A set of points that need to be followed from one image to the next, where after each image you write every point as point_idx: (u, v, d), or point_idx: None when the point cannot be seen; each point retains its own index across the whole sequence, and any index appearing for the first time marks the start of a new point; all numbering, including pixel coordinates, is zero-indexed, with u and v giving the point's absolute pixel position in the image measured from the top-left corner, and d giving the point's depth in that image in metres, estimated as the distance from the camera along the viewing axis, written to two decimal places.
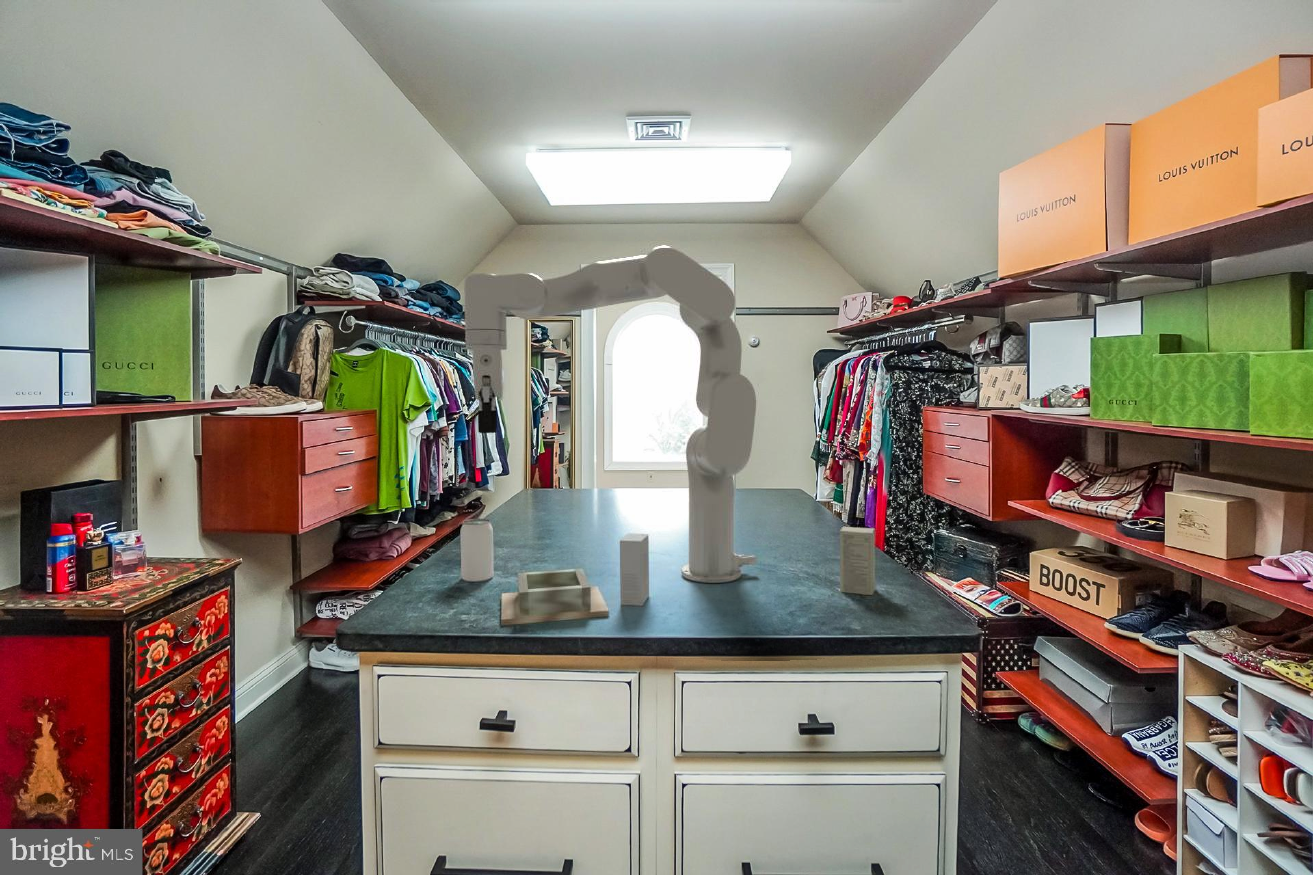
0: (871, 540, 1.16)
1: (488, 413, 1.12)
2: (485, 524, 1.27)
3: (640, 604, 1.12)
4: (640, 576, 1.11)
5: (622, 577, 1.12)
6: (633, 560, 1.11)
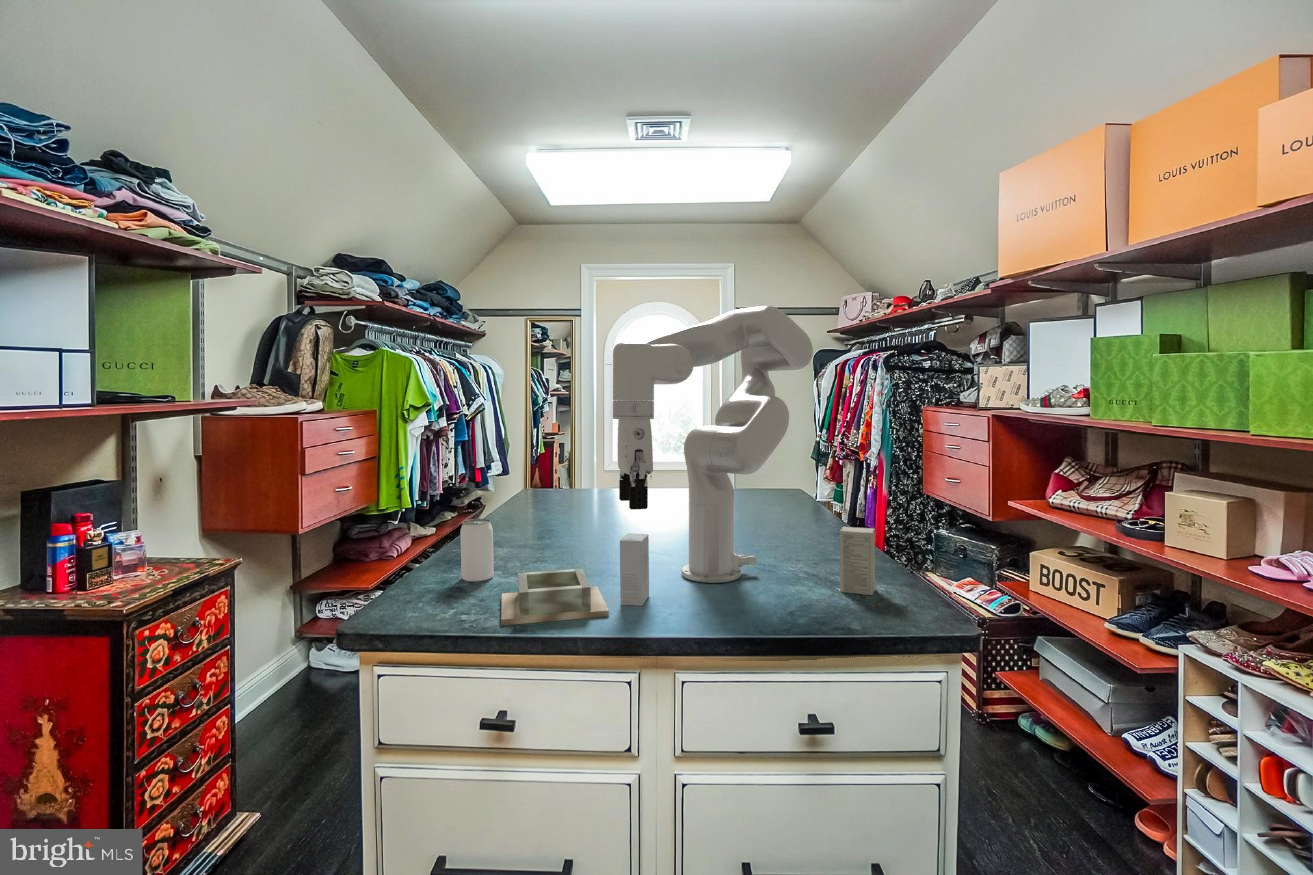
0: (871, 540, 1.16)
1: (641, 489, 1.08)
2: (485, 524, 1.27)
3: (640, 604, 1.12)
4: (640, 576, 1.11)
5: (622, 577, 1.12)
6: (633, 560, 1.11)
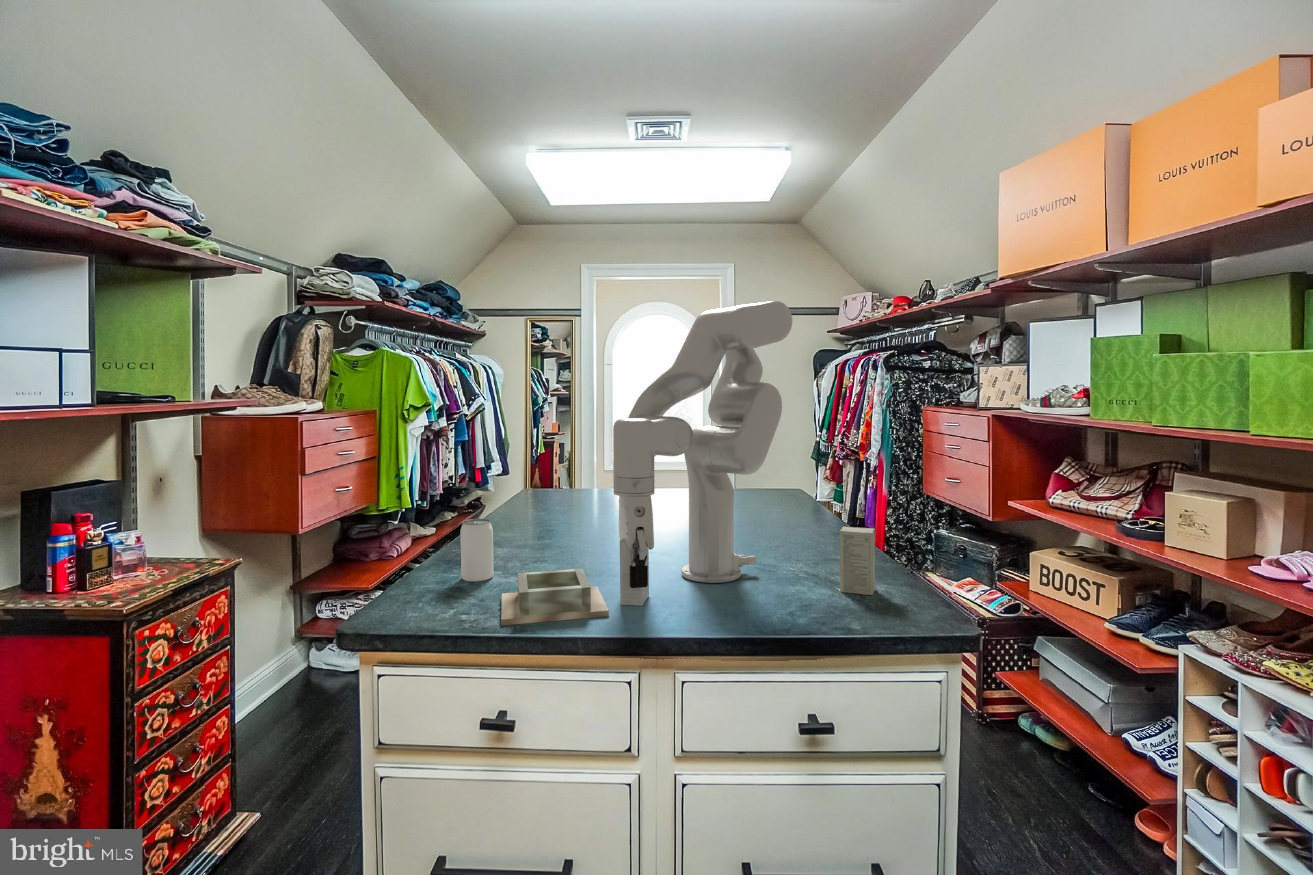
0: (871, 540, 1.16)
1: (641, 568, 1.10)
2: (485, 524, 1.27)
3: (640, 604, 1.12)
4: None
5: (622, 577, 1.12)
6: None
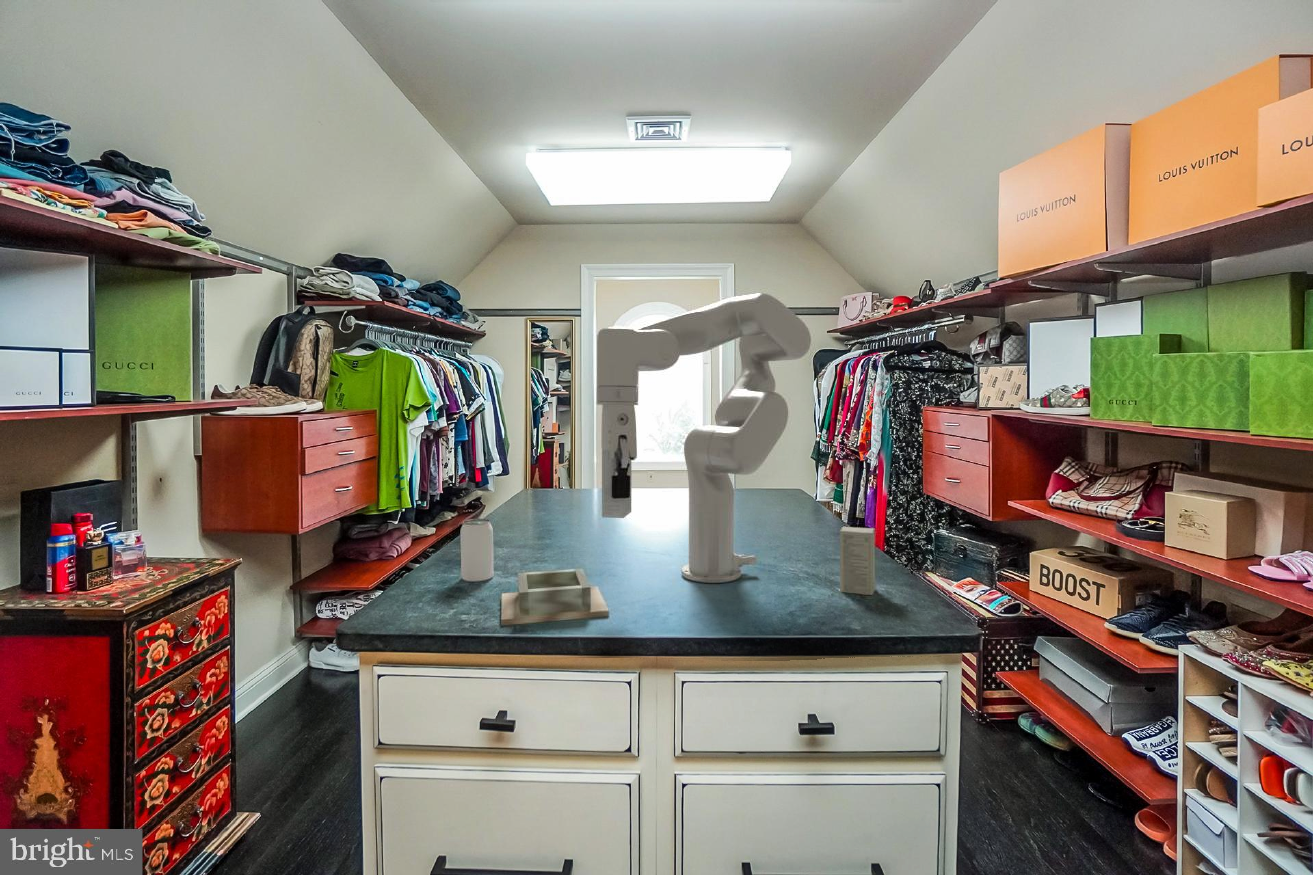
0: (871, 540, 1.16)
1: (623, 478, 1.08)
2: (485, 524, 1.27)
3: (622, 516, 1.10)
4: None
5: (604, 489, 1.10)
6: None
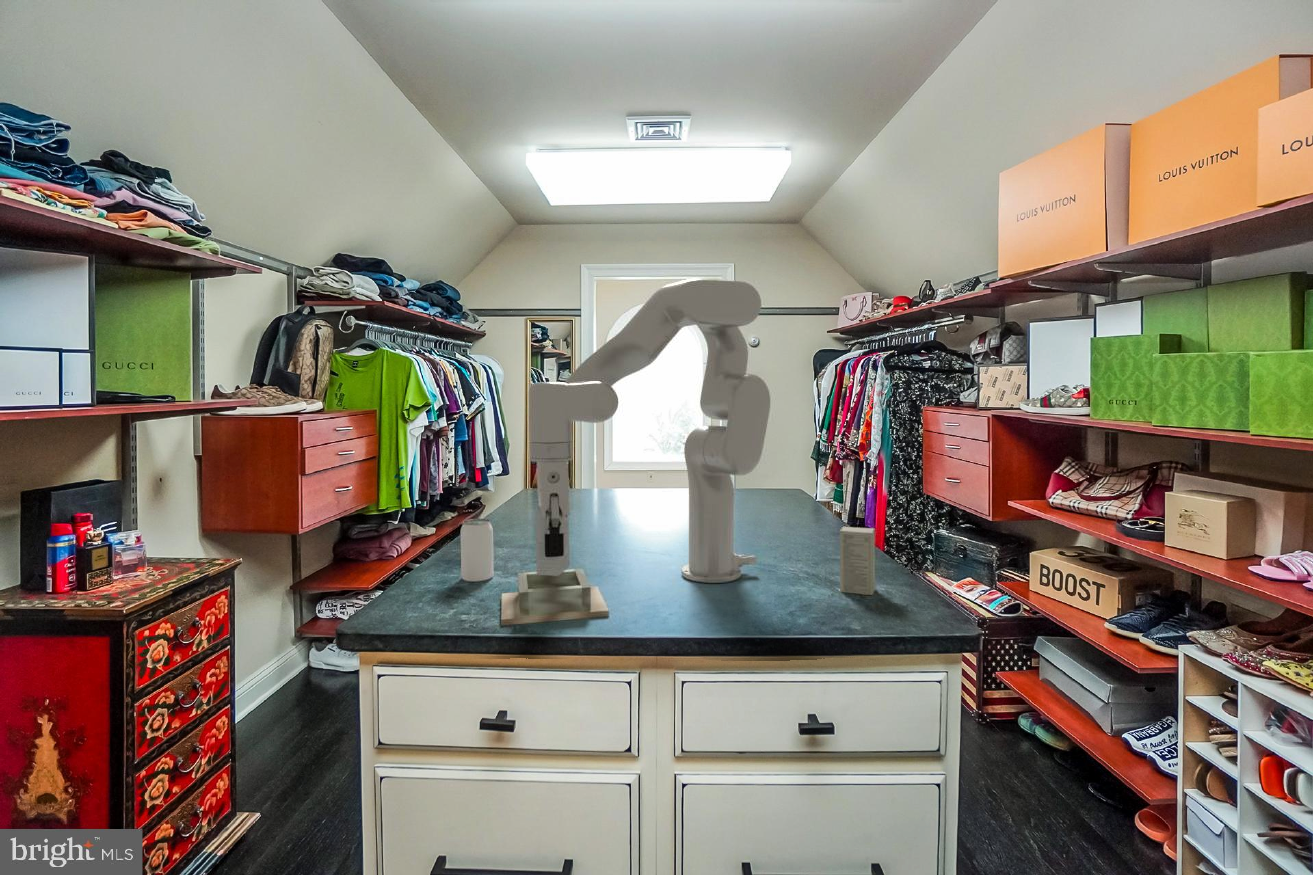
0: (871, 540, 1.16)
1: (556, 536, 1.06)
2: (485, 524, 1.27)
3: (556, 574, 1.08)
4: None
5: (538, 546, 1.08)
6: None
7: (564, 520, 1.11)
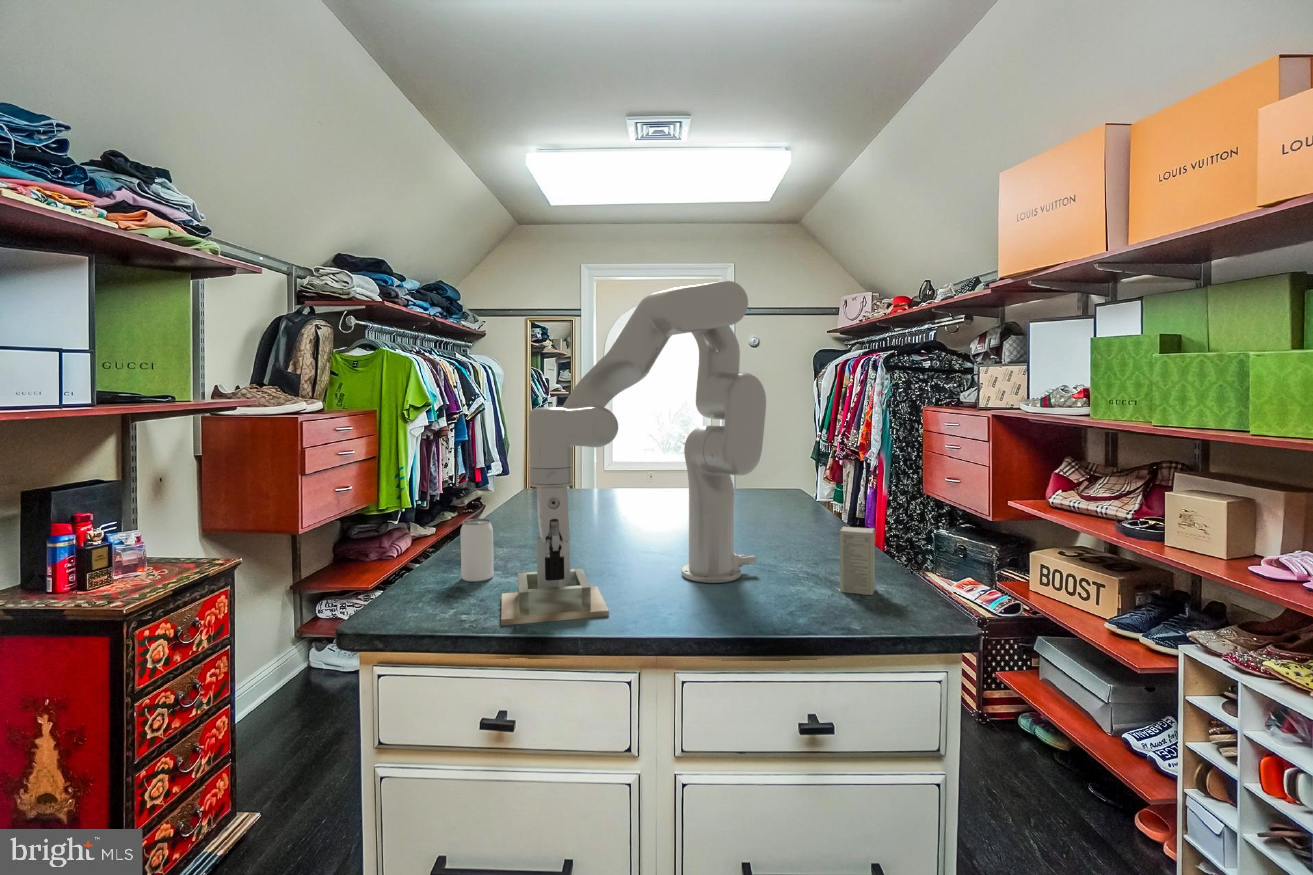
0: (871, 540, 1.16)
1: (556, 560, 1.05)
2: (485, 524, 1.27)
3: None
4: None
5: (539, 578, 1.08)
6: None
7: (565, 551, 1.11)
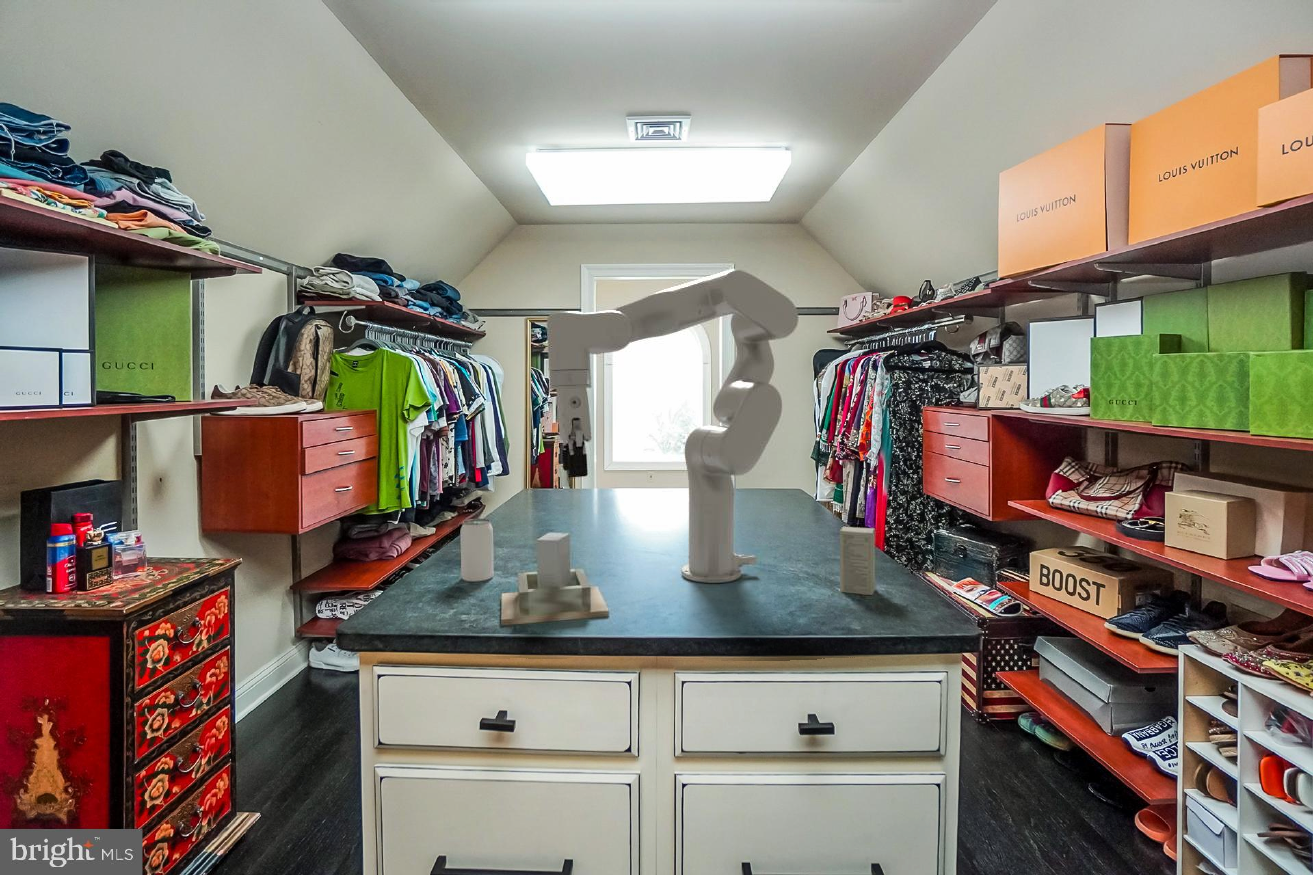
0: (871, 540, 1.16)
1: (579, 456, 1.09)
2: (485, 524, 1.27)
3: None
4: (557, 577, 1.08)
5: (539, 578, 1.08)
6: (550, 560, 1.08)
7: (565, 551, 1.11)
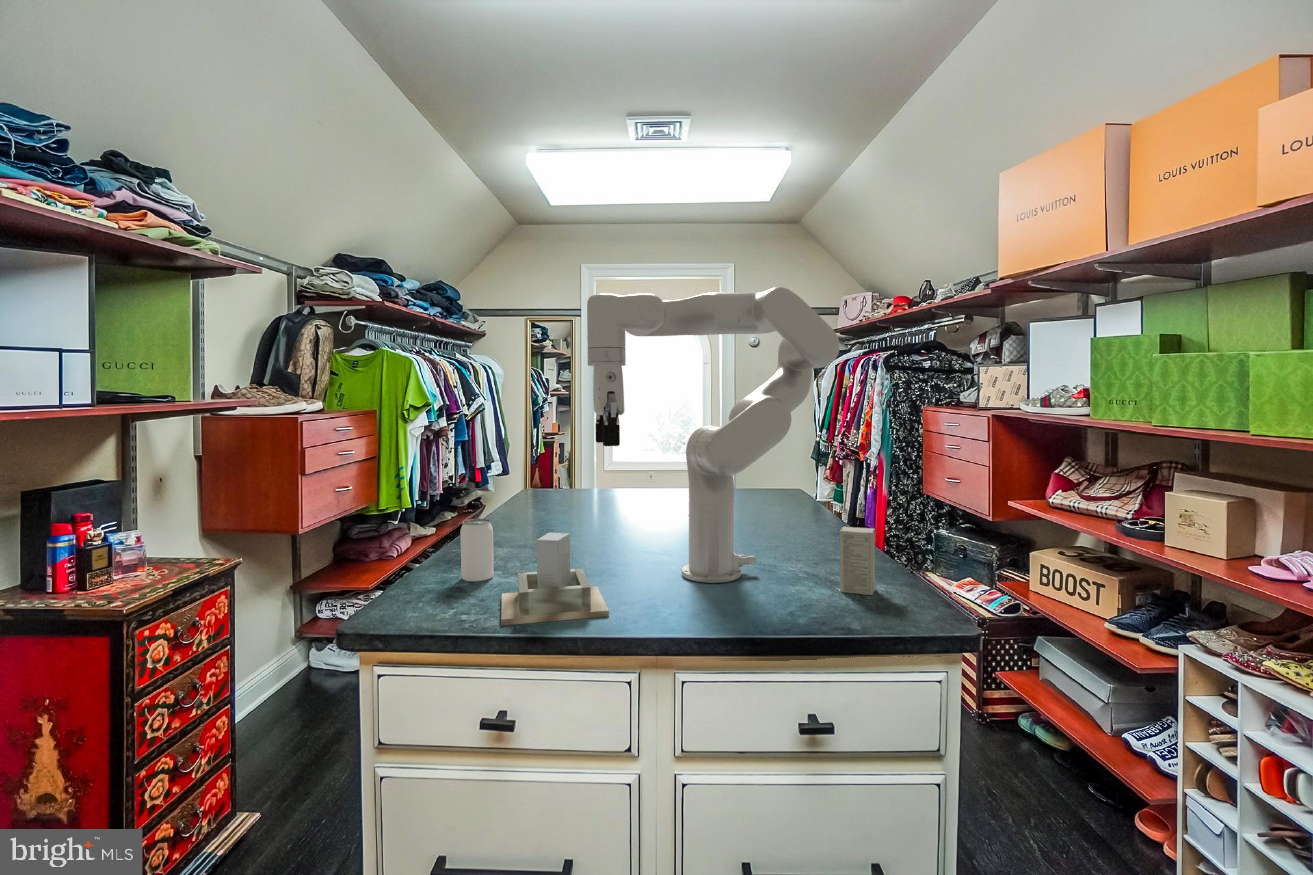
0: (871, 540, 1.16)
1: (613, 427, 1.18)
2: (485, 524, 1.27)
3: None
4: (557, 577, 1.08)
5: (539, 578, 1.08)
6: (550, 560, 1.08)
7: (565, 551, 1.11)
